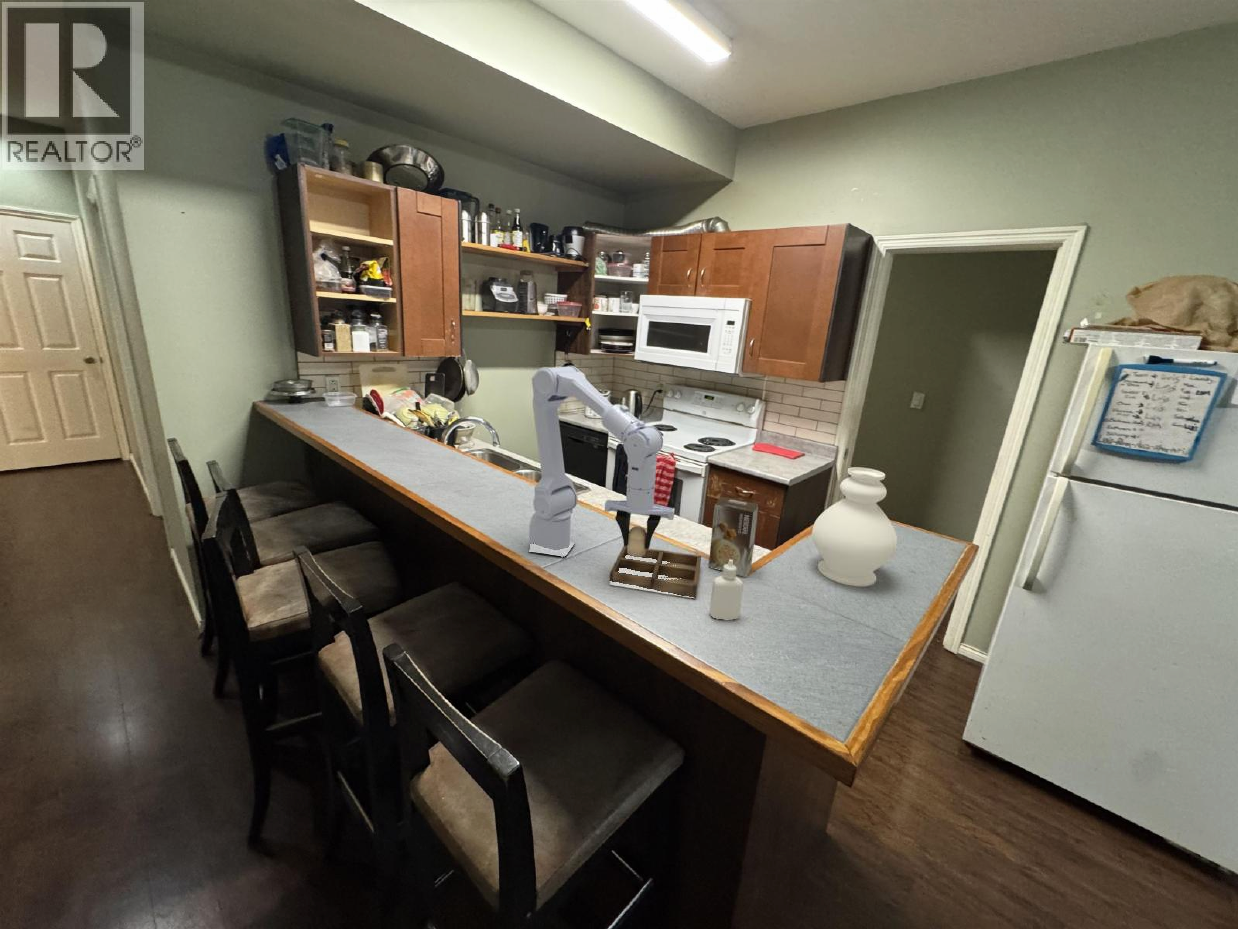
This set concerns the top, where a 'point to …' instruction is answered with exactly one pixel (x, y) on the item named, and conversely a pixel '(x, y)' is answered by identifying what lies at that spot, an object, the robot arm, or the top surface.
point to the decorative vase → (855, 531)
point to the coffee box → (733, 534)
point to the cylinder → (636, 541)
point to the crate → (660, 571)
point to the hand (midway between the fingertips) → (636, 545)
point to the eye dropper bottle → (726, 594)
